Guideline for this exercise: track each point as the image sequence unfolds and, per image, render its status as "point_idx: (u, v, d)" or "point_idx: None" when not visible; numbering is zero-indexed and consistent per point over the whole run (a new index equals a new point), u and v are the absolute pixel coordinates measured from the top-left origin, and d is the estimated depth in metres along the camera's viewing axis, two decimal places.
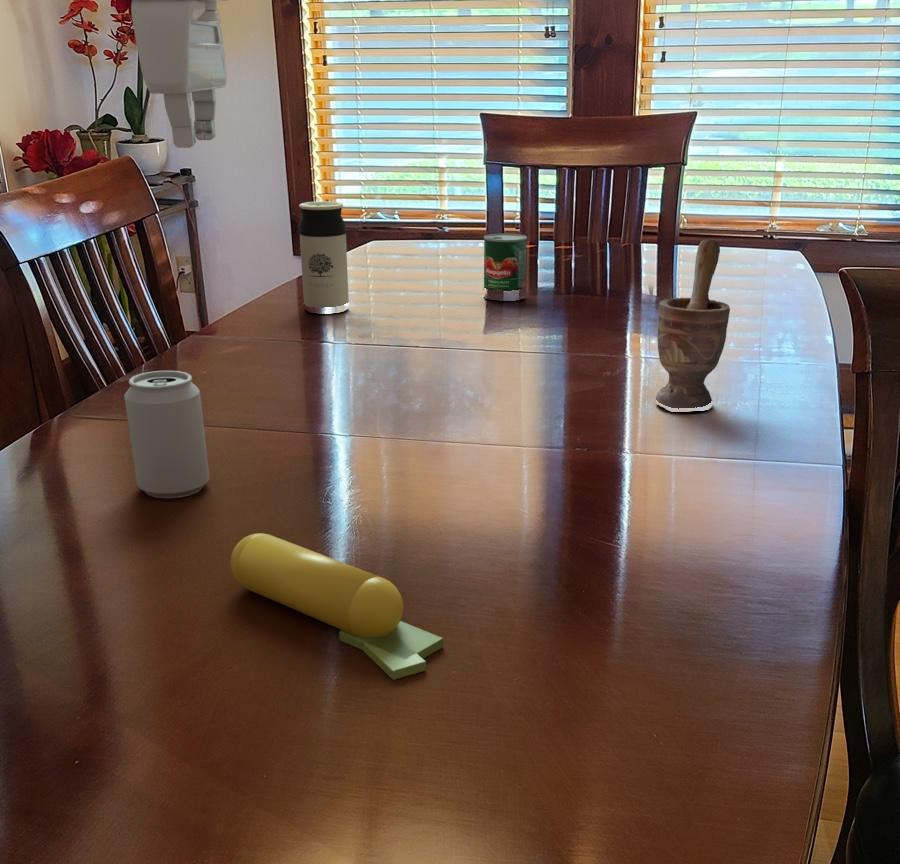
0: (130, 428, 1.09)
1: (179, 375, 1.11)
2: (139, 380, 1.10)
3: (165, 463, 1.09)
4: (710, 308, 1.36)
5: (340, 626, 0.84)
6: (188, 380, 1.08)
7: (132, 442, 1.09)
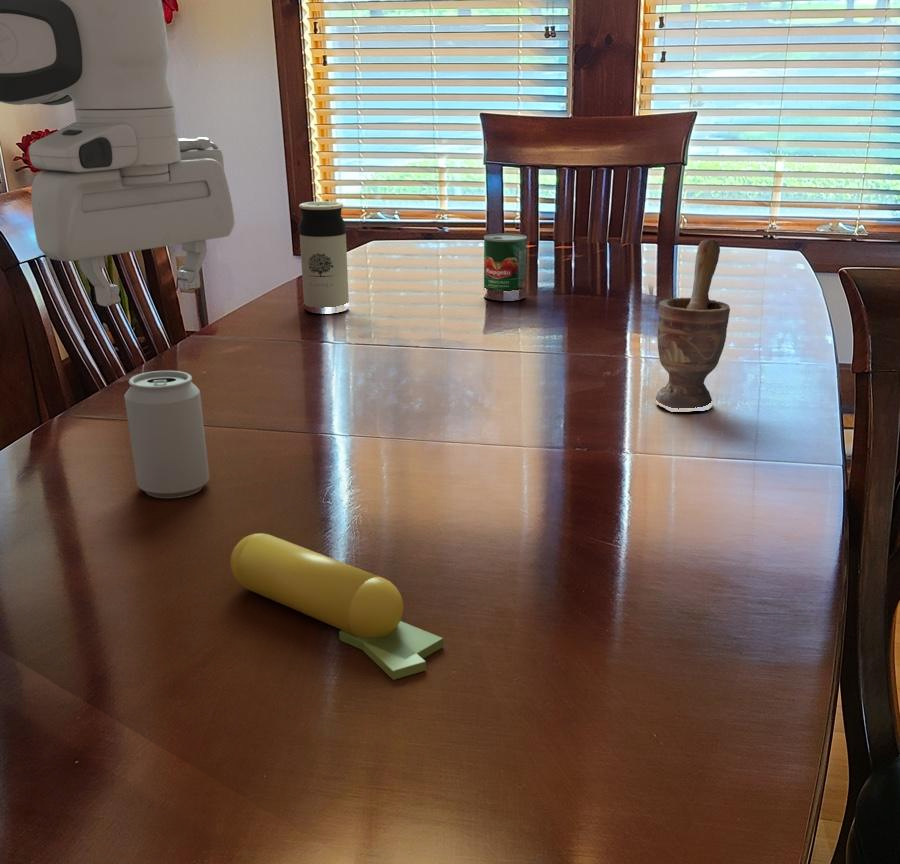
0: (130, 428, 1.09)
1: (179, 375, 1.11)
2: (139, 380, 1.10)
3: (166, 463, 1.09)
4: (710, 308, 1.36)
5: (340, 626, 0.84)
6: (188, 380, 1.08)
7: (132, 442, 1.09)
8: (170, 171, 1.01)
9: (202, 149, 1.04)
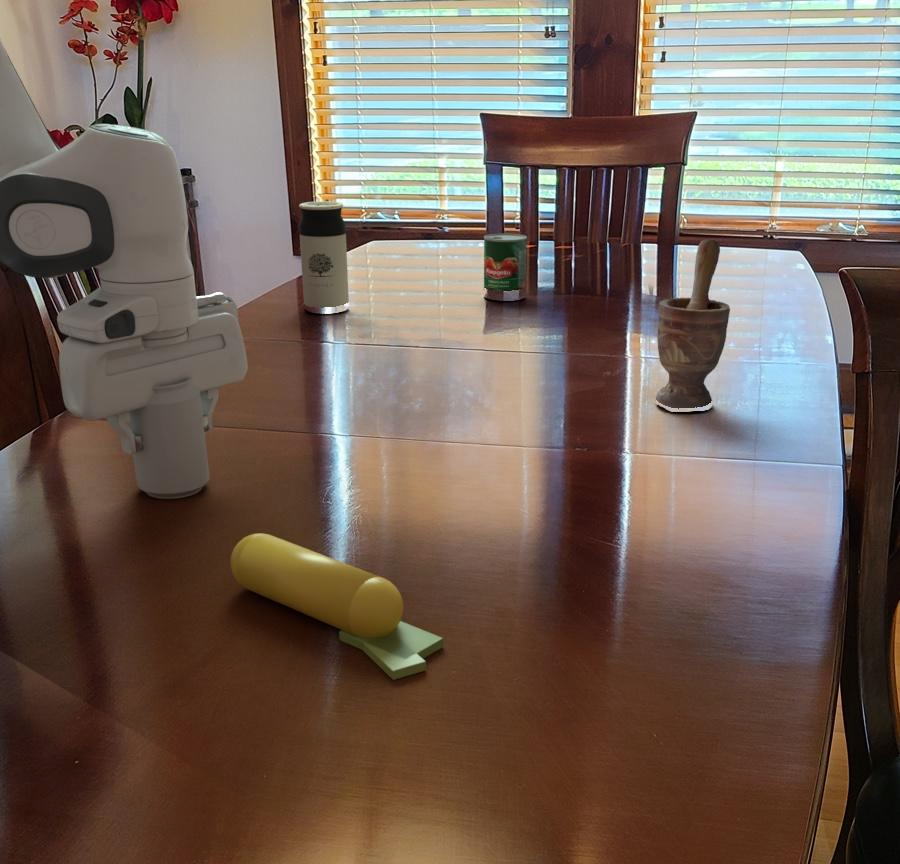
0: (130, 428, 1.09)
1: None
2: None
3: (166, 463, 1.09)
4: (710, 308, 1.36)
5: (340, 626, 0.84)
6: (188, 380, 1.08)
7: None
8: (188, 329, 1.07)
9: (218, 304, 1.11)
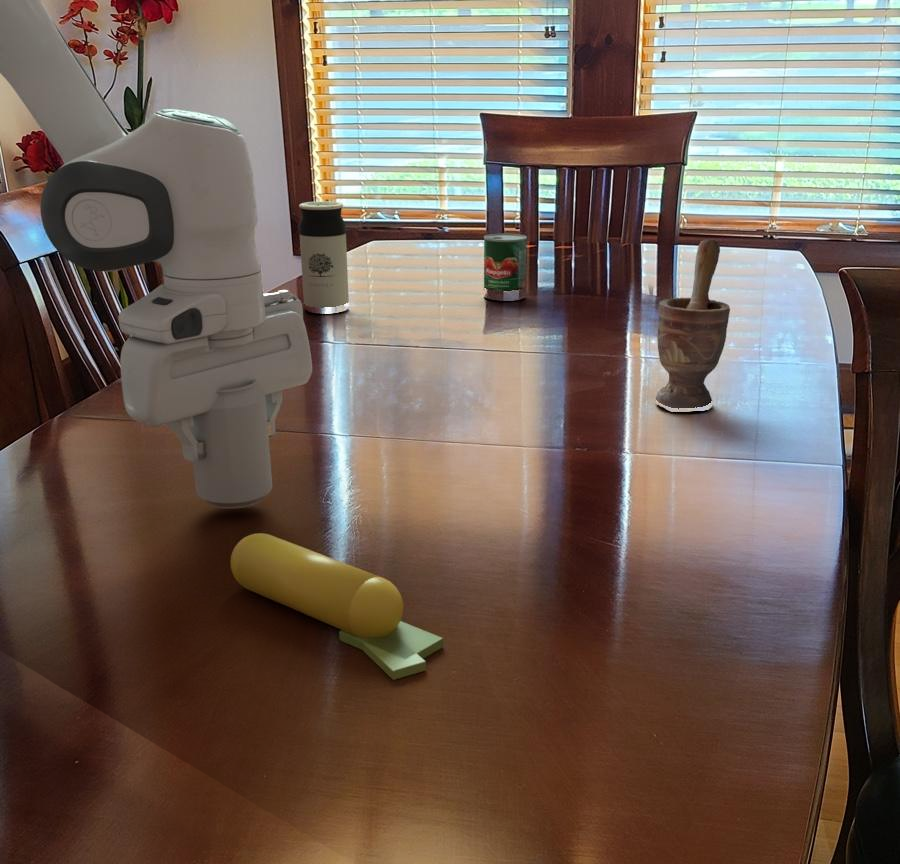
0: None
1: None
2: None
3: (229, 471, 1.02)
4: (710, 308, 1.36)
5: (340, 626, 0.84)
6: (254, 383, 1.02)
7: None
8: (254, 329, 1.01)
9: (283, 302, 1.05)
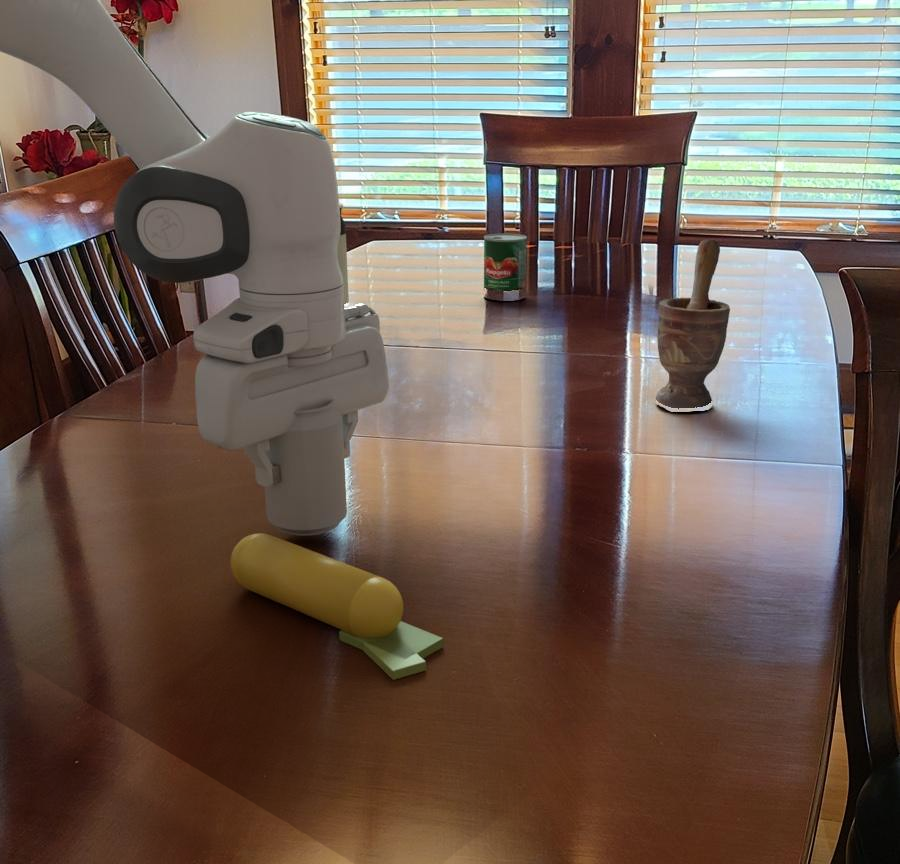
0: None
1: None
2: None
3: (305, 496, 0.96)
4: (710, 308, 1.36)
5: (340, 626, 0.84)
6: (332, 403, 0.96)
7: None
8: (333, 346, 0.95)
9: (361, 316, 0.98)
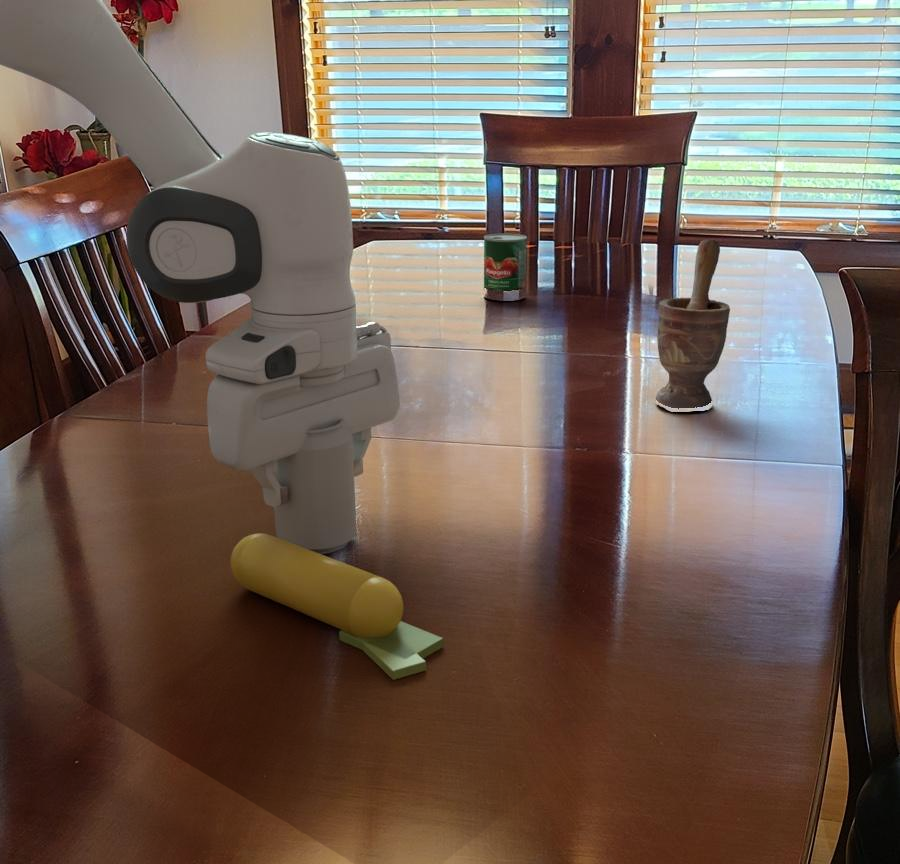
0: (275, 476, 0.96)
1: None
2: None
3: (315, 516, 0.96)
4: (710, 308, 1.36)
5: (340, 626, 0.84)
6: (342, 422, 0.95)
7: None
8: (344, 365, 0.95)
9: (372, 335, 0.98)
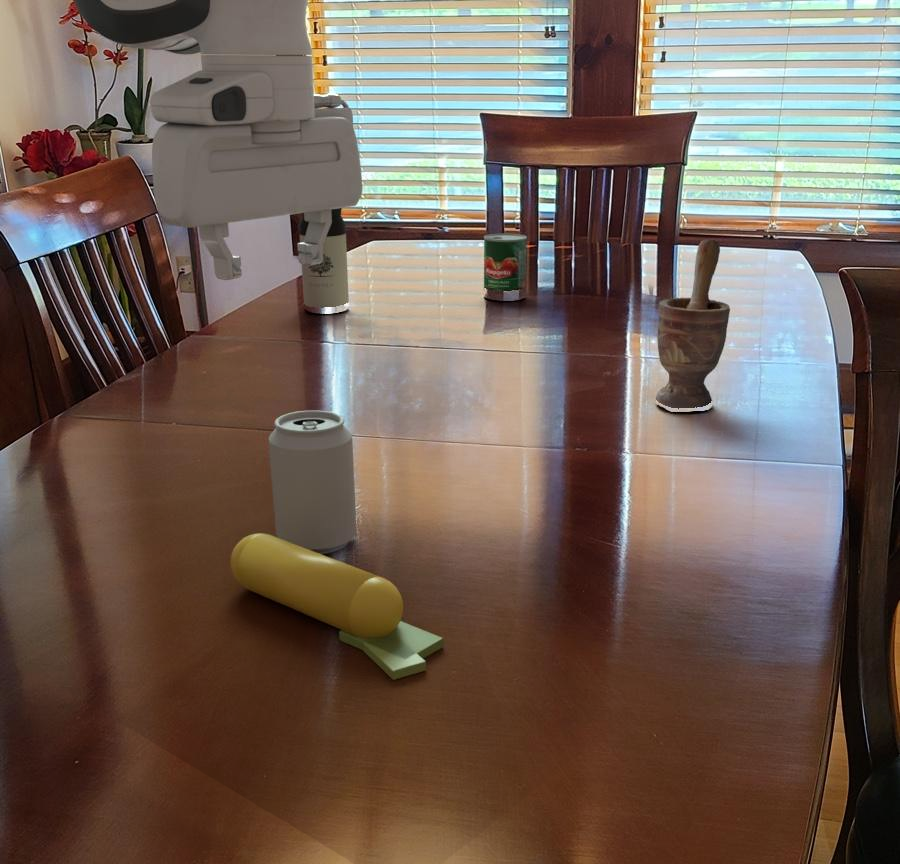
0: (275, 476, 0.96)
1: (327, 416, 0.98)
2: (284, 422, 0.97)
3: (315, 516, 0.96)
4: (710, 308, 1.36)
5: (340, 626, 0.84)
6: (342, 422, 0.95)
7: (276, 492, 0.97)
8: (301, 129, 0.90)
9: (332, 107, 0.93)
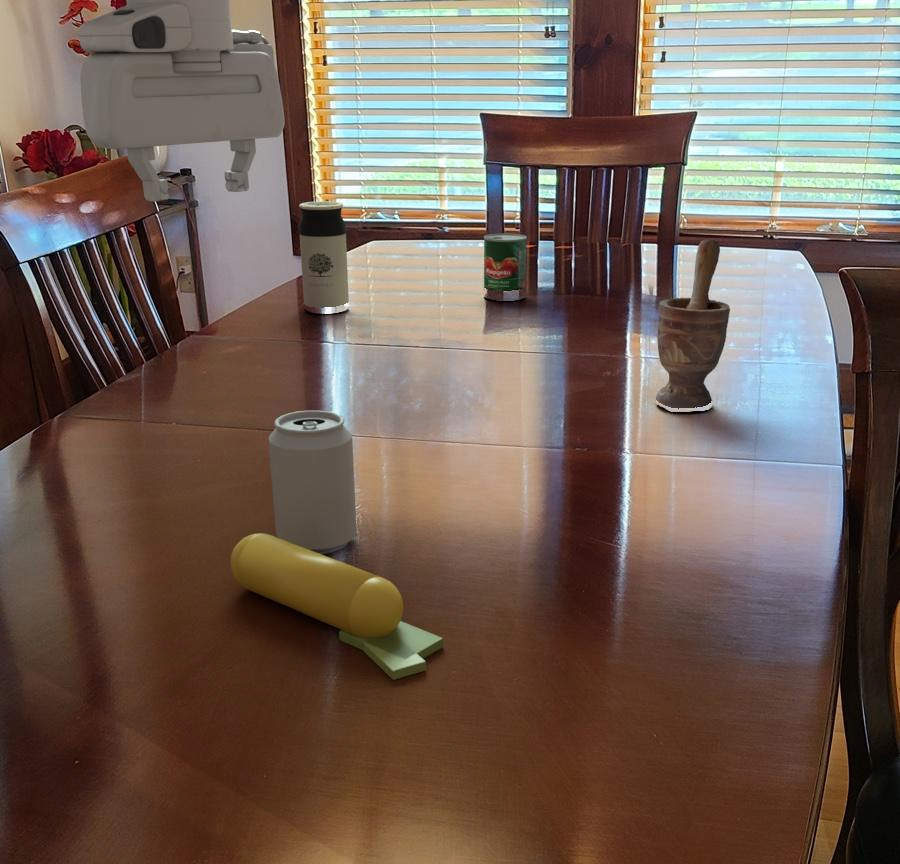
0: (275, 476, 0.96)
1: (327, 416, 0.98)
2: (284, 422, 0.97)
3: (315, 516, 0.96)
4: (710, 308, 1.36)
5: (340, 626, 0.84)
6: (342, 422, 0.95)
7: (276, 492, 0.97)
8: (222, 61, 0.97)
9: (253, 43, 1.00)
